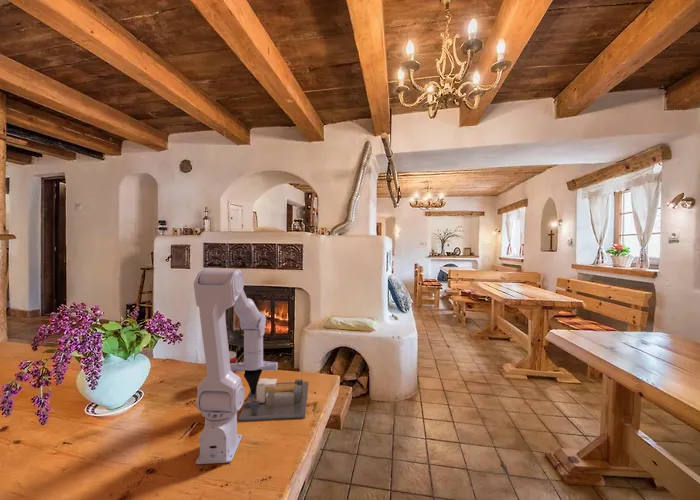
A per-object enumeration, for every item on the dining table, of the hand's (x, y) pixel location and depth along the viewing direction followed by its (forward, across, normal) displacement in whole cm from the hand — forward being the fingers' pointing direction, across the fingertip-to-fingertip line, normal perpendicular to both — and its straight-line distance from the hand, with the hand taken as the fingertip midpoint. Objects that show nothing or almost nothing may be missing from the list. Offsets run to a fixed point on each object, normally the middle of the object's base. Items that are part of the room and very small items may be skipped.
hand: (253, 392), depth 93 cm
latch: (+2, -4, 0) cm, 5 cm away
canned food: (+4, +13, -13) cm, 19 cm away
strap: (-1, -9, 0) cm, 9 cm away
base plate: (+3, -7, -1) cm, 8 cm away
